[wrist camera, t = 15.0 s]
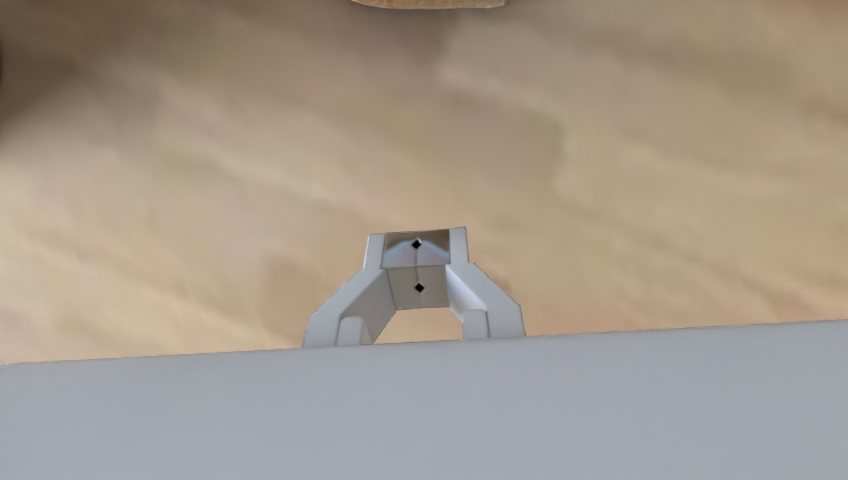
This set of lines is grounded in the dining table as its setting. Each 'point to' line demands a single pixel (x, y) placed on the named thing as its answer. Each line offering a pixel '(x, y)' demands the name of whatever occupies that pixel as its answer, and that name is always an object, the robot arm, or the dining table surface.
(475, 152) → the dining table surface
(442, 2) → the stone cup
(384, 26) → the dining table surface
